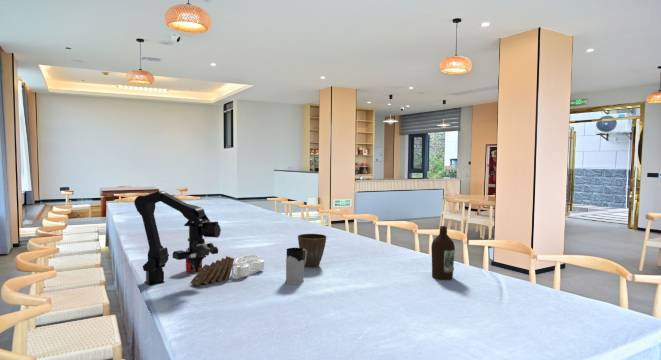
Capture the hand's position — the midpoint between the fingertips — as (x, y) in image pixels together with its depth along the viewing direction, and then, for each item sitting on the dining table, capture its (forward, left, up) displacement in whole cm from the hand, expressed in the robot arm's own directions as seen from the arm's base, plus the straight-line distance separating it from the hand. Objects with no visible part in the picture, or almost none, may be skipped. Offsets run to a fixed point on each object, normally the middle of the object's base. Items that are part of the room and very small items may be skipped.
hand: (196, 272), depth 177 cm
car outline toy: (+26, 0, -6) cm, 27 cm away
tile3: (+7, 0, -6) cm, 9 cm away
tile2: (+3, 0, -6) cm, 6 cm away
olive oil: (+88, -70, -6) cm, 113 cm away
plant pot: (+59, -11, -6) cm, 60 cm away
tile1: (-1, 0, -5) cm, 5 cm away
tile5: (+14, 0, -6) cm, 15 cm away
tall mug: (+37, -25, -6) cm, 45 cm away
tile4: (+10, 0, -6) cm, 12 cm away
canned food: (+11, +23, -6) cm, 26 cm away
